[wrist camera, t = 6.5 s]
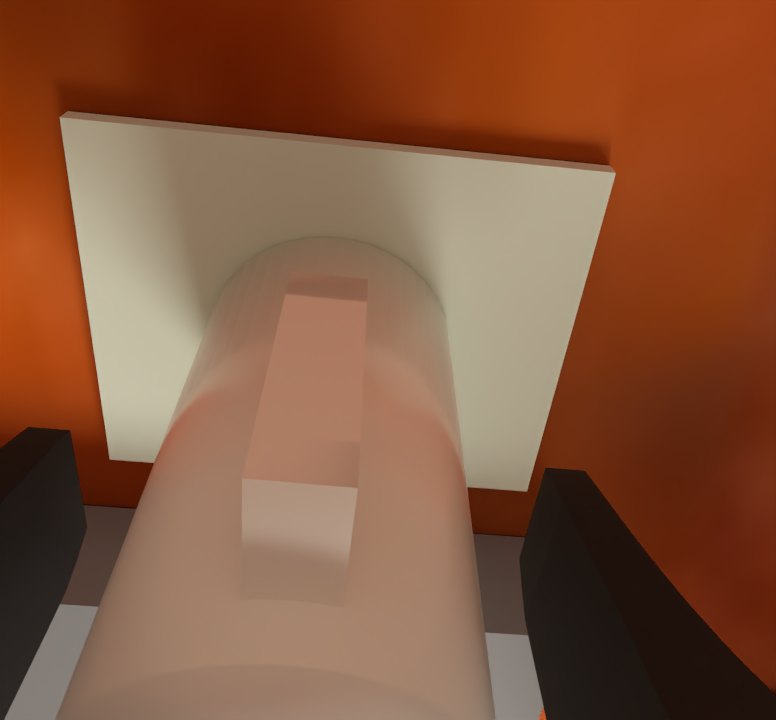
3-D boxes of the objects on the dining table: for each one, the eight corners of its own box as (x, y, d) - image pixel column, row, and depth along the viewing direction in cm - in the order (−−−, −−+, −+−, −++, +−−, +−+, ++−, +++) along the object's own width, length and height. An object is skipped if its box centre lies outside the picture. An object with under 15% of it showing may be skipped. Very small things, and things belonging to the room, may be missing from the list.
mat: (610, 165, 14) (615, 173, 13) (524, 479, 18) (526, 491, 18) (67, 111, 13) (59, 117, 13) (115, 448, 18) (109, 459, 17)
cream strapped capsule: (424, 467, 17) (452, 920, 10) (213, 448, 17) (79, 902, 10) (483, 172, 13) (602, 572, 6) (205, 140, 13) (-39, 520, 6)
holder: (546, 539, 19) (569, 637, 17) (472, 773, 26) (480, 869, 23) (-78, 493, 18) (-151, 590, 16) (10, 747, 25) (-32, 844, 23)
